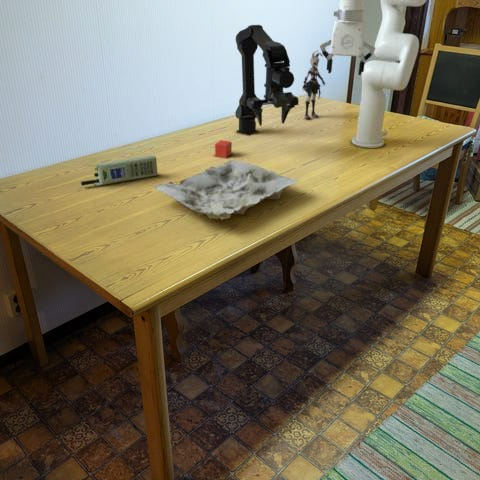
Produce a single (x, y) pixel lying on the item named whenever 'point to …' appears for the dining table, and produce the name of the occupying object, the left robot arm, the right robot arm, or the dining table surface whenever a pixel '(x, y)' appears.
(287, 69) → the left robot arm
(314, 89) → the figurine
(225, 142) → the block
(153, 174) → the handheld radio
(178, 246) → the dining table surface
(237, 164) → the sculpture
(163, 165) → the dining table surface
